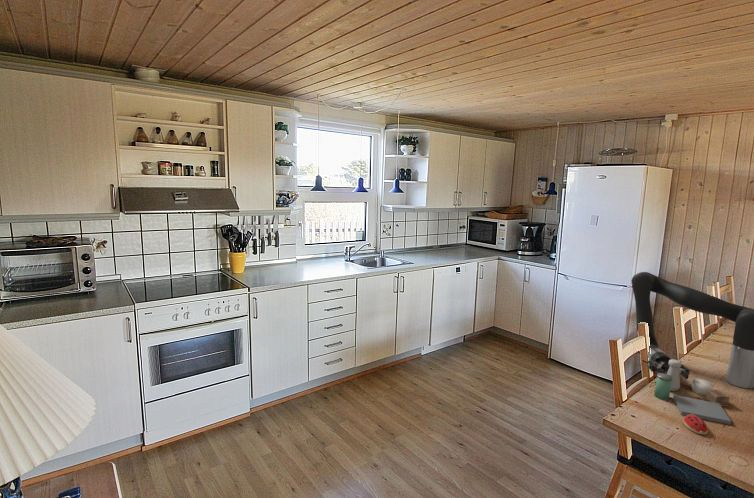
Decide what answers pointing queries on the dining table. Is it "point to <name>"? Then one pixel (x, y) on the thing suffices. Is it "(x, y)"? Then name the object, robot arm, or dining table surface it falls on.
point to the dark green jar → (663, 386)
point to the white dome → (701, 386)
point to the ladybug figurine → (695, 424)
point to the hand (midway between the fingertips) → (675, 375)
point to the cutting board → (701, 409)
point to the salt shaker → (674, 374)
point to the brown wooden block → (717, 397)
